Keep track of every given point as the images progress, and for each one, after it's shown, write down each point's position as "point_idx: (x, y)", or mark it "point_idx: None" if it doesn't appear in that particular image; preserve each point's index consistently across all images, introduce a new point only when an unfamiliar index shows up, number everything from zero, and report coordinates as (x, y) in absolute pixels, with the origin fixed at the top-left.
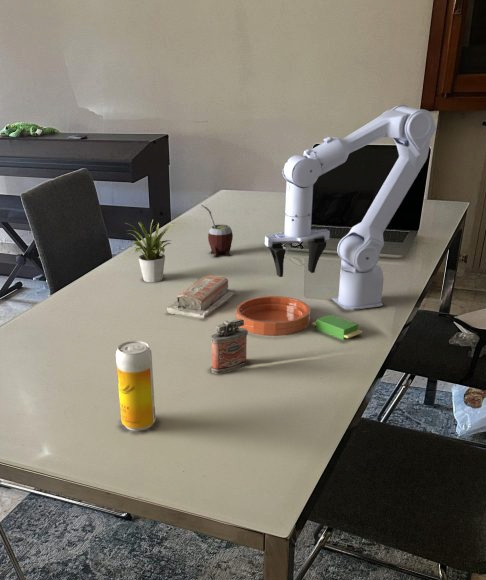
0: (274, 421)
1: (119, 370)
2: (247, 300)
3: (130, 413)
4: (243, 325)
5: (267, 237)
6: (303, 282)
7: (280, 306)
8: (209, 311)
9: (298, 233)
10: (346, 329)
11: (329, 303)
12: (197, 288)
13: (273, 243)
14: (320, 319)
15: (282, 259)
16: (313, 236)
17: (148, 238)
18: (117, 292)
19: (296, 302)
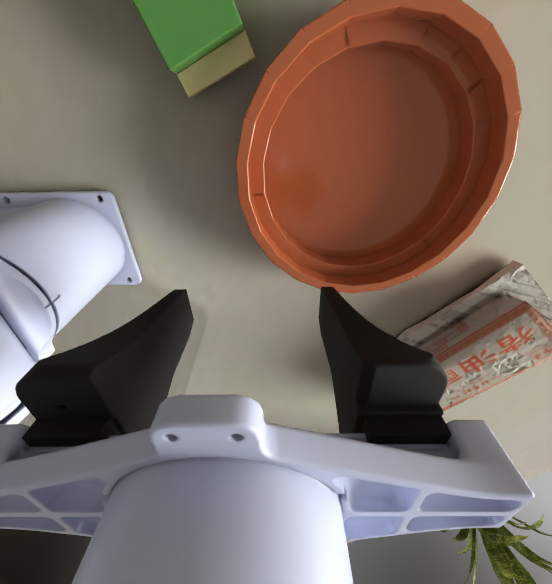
0: None
1: None
2: (404, 278)
3: None
4: None
5: (511, 511)
6: (189, 382)
7: (302, 250)
8: (487, 285)
9: (251, 515)
10: None
11: (151, 264)
12: (495, 369)
13: (431, 447)
14: (224, 13)
15: (352, 330)
16: (90, 456)
17: (532, 555)
18: (545, 426)
19: (261, 230)
